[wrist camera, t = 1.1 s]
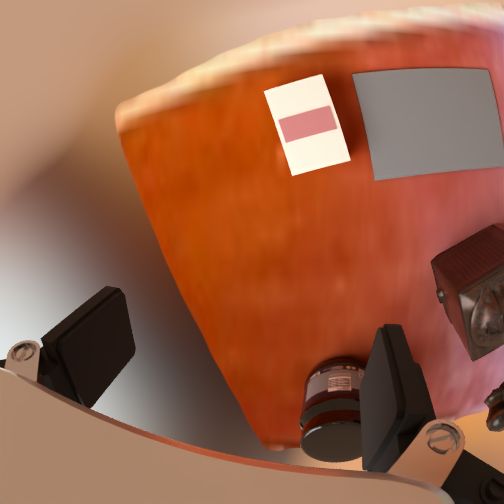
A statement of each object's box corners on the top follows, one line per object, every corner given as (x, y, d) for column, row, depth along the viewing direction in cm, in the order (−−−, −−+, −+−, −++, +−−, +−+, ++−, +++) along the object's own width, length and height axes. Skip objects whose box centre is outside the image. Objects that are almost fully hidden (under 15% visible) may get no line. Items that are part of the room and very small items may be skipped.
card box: (322, 82, 29) (321, 73, 25) (347, 158, 31) (350, 160, 27) (270, 97, 31) (263, 91, 27) (295, 172, 33) (292, 175, 29)
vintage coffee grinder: (424, 261, 33) (485, 352, 16) (493, 222, 29) (581, 282, 12) (451, 349, 36) (489, 444, 19) (510, 314, 32) (566, 394, 15)
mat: (486, 70, 22) (488, 69, 22) (504, 166, 26) (505, 166, 26) (351, 74, 28) (352, 74, 27) (374, 180, 31) (375, 180, 31)
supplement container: (334, 412, 44) (330, 471, 33) (290, 378, 43) (278, 441, 32) (387, 381, 40) (396, 444, 29) (346, 342, 39) (348, 408, 28)
